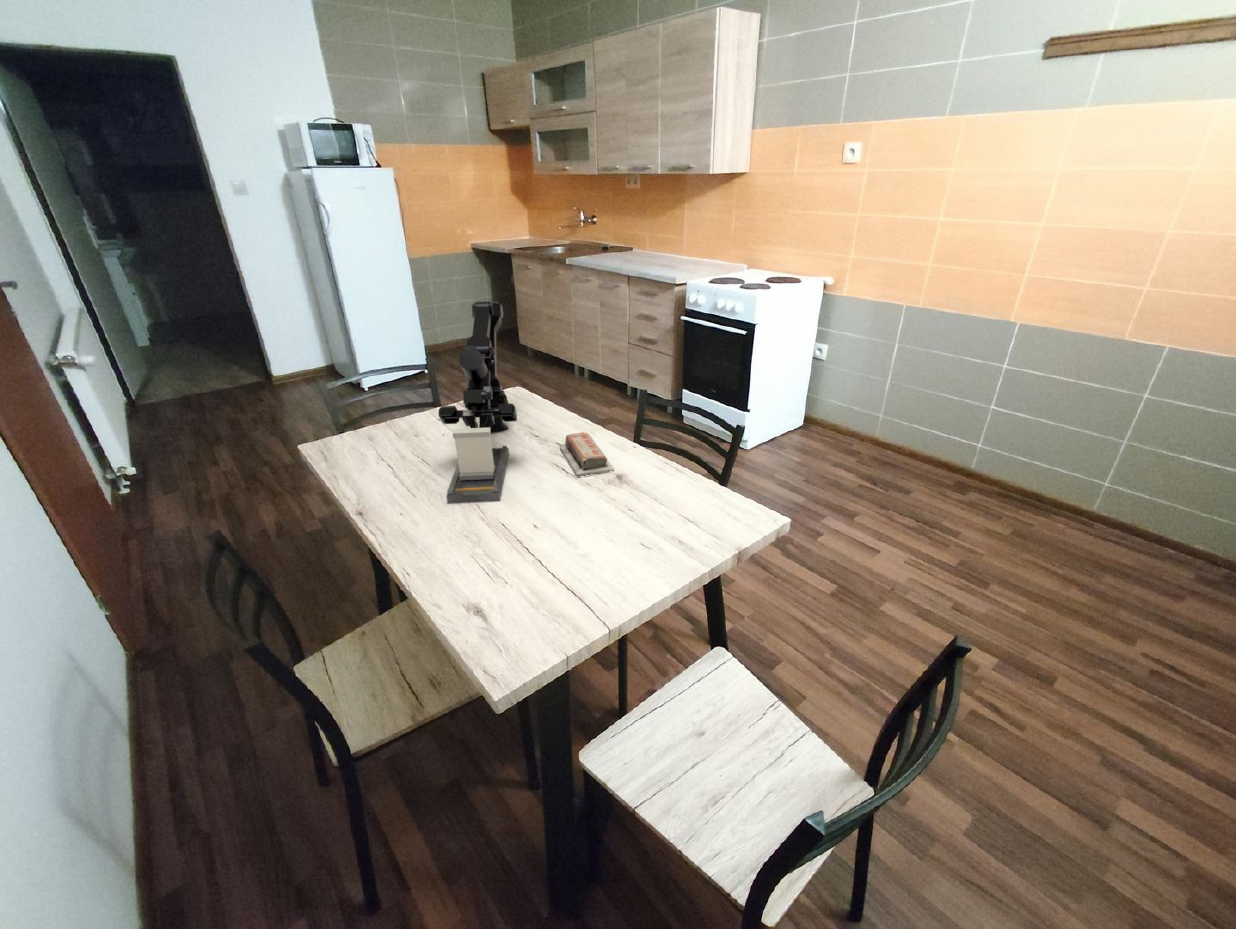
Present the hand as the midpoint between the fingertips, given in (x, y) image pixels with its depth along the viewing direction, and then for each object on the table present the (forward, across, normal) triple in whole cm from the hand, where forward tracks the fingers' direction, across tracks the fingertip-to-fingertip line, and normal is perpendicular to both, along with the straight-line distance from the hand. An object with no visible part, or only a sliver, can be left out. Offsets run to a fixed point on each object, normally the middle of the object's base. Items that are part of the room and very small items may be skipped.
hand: (478, 445), depth 141 cm
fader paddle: (+8, 0, 0) cm, 8 cm away
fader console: (+7, 0, +4) cm, 8 cm away
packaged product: (+2, +27, +9) cm, 28 cm away
